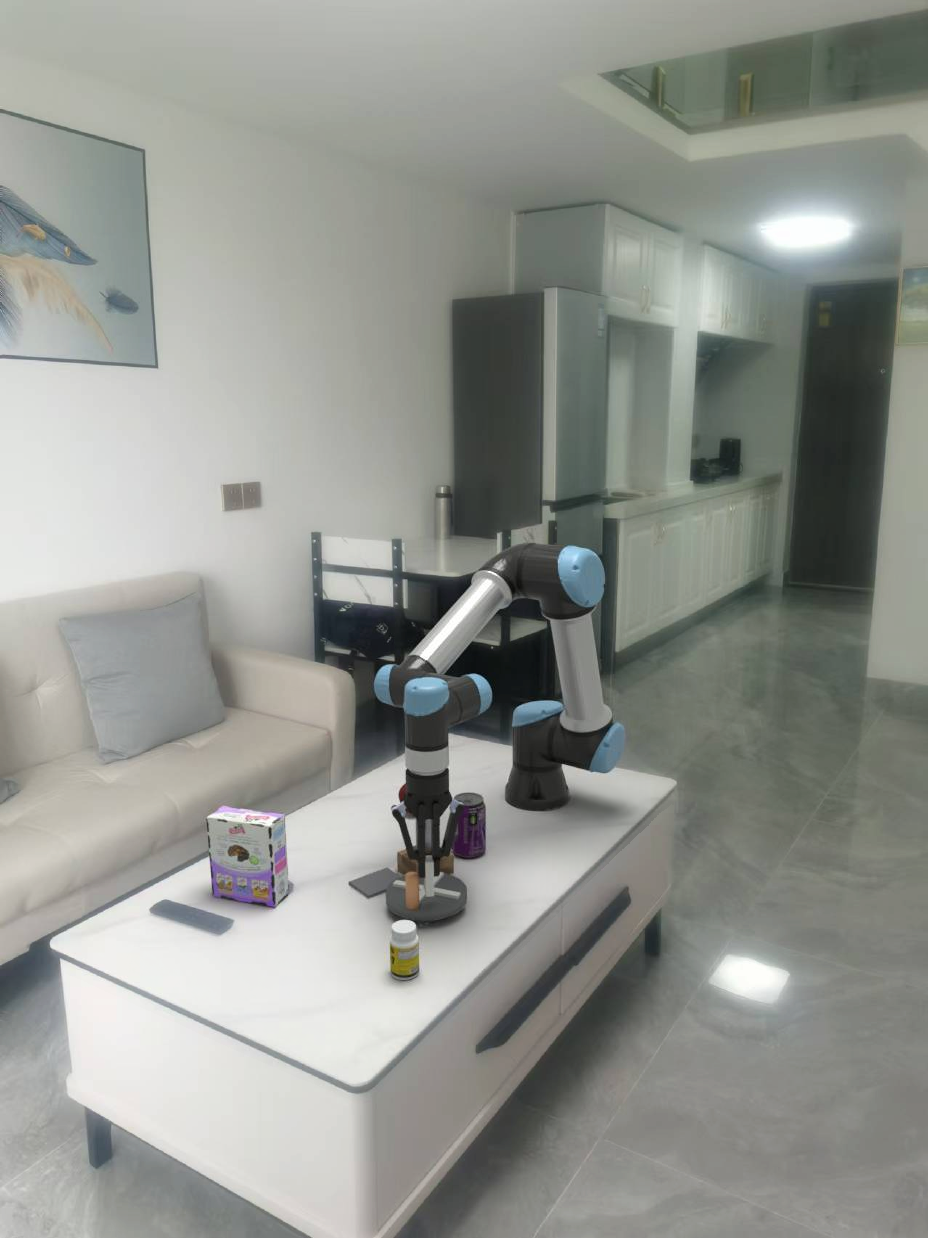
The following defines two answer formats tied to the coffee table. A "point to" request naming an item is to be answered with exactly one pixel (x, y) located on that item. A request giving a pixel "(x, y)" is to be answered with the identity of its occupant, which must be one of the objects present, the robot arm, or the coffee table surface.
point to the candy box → (248, 855)
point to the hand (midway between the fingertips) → (429, 892)
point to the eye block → (412, 865)
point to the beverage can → (470, 826)
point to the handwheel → (413, 904)
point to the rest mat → (374, 882)
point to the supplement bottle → (404, 950)
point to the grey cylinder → (426, 837)
